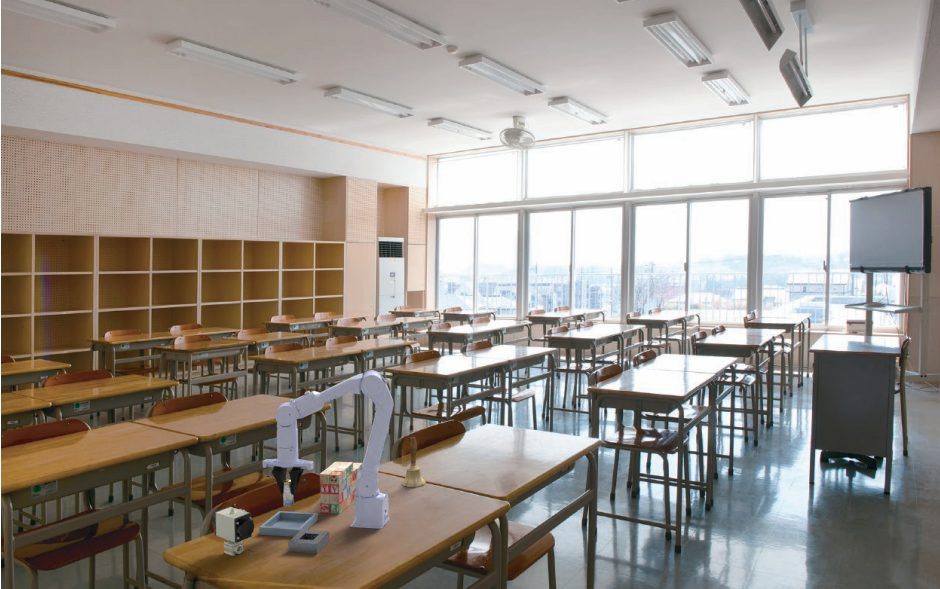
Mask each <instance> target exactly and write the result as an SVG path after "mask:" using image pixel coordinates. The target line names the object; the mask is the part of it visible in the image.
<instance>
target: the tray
mask: <svg viewBox="0 0 940 589" xmlns="http://www.w3.org/2000/svg"><path fill="white" fill-rule="evenodd" d="M318 519H319V518H318V513H317V512H316V513H315V512H302V511H301V512H300V511H286V510H285V511H284V510H283V511H282V510H279V511H277V512H276V513H275V514H274V515H272V516H271V517H270V518H268V519H267V520H266V521H265V522H263V524H261V525H260V526H259V527H258V530H259V531H258V532H259V533H258V534H259V535H263V536H264V535H265V536H276V537H277V536H279V537H292V538H293V537H294V536H295V535H296V534H297V533H298V532H300V531H301V530H310V528H311V527H312V526H313V525H314V524H316V522H317V521H318Z"/></svg>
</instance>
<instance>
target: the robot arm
mask: <svg viewBox="0 0 940 589" xmlns="http://www.w3.org/2000/svg"><path fill="white" fill-rule="evenodd" d="M388 386H389V385H388V384H387V380H386V379H385V377H384V376H383V375H382V374H381V373H380V372H379V371H376V370H372V369H370V370H367V371H365V372H364V373H359V374H356V375H353V376H351V377H349V378H347V379H345V380H343V381H340V382H339V383H337V384H335V385H333V386H331V387H329V388H327V389H325V390H323V391H321V392H319V391H315V390H312V391H310V390H307V391H305V392H304V394H303V395H301V396H299V397H297V398H291V399H288V400H289V401H288V402H283V403H281V404H280V405H279V407H278V409H277V410H276V412H275V422H277V423H276V428H277V430H276V450H277V452H276V456H277V457H276V458H270V459H269V458H266V459H264V460H262V468H263V469H264V468H265V469H266V468H272V470H271V475H272V476H273V478H274V479H275V481H276V483H277V486H278V489H279V490H278V491H279V494H280V495H283V481H284V480H287V470H288V469H291V470H289V471H288V474H289V479H290V480H291V494H292V495H295V494H297V493H298V492H297V491H298V489H299V488H298V487H299V483H300V480H301V478H302V475H303V473H304V471H305V470H308V471H311V470H313V469H314V461H313V460H306V459H300V458H299V433H298V432H299V430H298V425H297V424H298V421H297V420H299V419H301V420H302V419H303V418H305V417H308V416H310V415H312V414H314V413H316V412H318V411H321V410H322V409H323V407H324V404H325V403H328V402H330V401H332V400H335V399H337V398H340V397H343V396H345V395H347V394H349V393H351V394H356V395H361V393H362V395H365V396H366V397H367V398H368V399H370V400H371V401H372V403H373V404H374V405H375V407H376V410H375V413H374V417H373V422H372V424H371V425H372V427H371V428H370V434H369V438H368V441H367V446H366V450H365V455H364V458H363V461H362V463H363V464H362V466H361V468H360V469H359V470H358V472H357V474H356V480H357V481H356V491H355V499H354V521H353V522H352V523H351V525H349V527H352V528H365V529H382V528H384V526H385V525H386V524H387V522H388V521H390V510H389V508H390V507H389V506H390V505H389V504H390V503H389V501H390V500H389V495H388V494H386V493H383V492H381V491H380V488H379V482H378V474H379V469H380V462H381V457H382V456H383V455H382V454H383V451H384V446H385V443H386V439H387V434H388V430H389V427H390V422H391V419H392V414H393V410H394V399H393V397H392V394H391V391H390V389H389V387H388Z"/></svg>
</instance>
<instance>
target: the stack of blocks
mask: <svg viewBox="0 0 940 589" xmlns="http://www.w3.org/2000/svg"><path fill="white" fill-rule="evenodd" d="M362 464H363V462H352V461H334V462H333V463H331V465H329V466H328V467H327V468H326V469H324V470H323V471H321V473H319V496H320V513H321V514H324V513H325V514H337V515H338V514H341V513H342V512H343V511H344V510H345V509H346V508H347V507H348V506H349V505H351V503H352V502H353V501H354V500H355V499H354V498H355V491H356V481H357V480H356V474H357V472H358V470H359V469H360V468H361V466H362ZM353 499H354V500H353ZM352 500H353V501H352Z"/></svg>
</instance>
